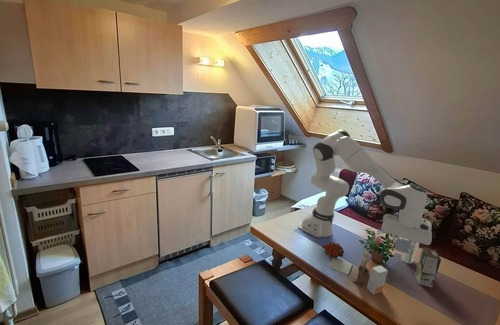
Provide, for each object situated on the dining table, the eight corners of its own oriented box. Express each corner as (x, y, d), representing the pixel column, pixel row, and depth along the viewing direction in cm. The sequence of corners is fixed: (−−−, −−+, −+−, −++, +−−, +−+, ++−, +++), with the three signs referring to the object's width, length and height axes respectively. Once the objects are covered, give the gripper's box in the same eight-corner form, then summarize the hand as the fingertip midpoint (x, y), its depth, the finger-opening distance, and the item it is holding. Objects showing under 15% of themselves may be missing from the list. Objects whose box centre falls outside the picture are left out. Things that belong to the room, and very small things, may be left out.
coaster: (328, 267, 140) (328, 266, 140) (333, 258, 148) (333, 257, 148) (347, 275, 135) (348, 274, 135) (352, 265, 143) (352, 264, 143)
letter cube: (395, 249, 125) (397, 240, 123) (395, 244, 129) (398, 235, 128) (407, 253, 122) (409, 243, 121) (407, 248, 127) (409, 239, 125)
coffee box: (432, 288, 131) (441, 260, 127) (418, 284, 133) (426, 256, 129) (428, 276, 139) (436, 249, 135) (414, 273, 141) (421, 246, 137)
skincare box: (373, 295, 123) (378, 273, 120) (366, 288, 127) (371, 267, 124) (382, 292, 126) (388, 270, 122) (375, 285, 129) (380, 264, 126)
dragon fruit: (344, 263, 144) (322, 259, 151) (347, 251, 150) (326, 248, 157) (340, 252, 140) (319, 249, 148) (344, 240, 146) (323, 238, 153)
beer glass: (415, 265, 148) (422, 241, 144) (402, 263, 149) (408, 239, 145) (411, 258, 154) (417, 235, 150) (398, 255, 156) (404, 233, 151)
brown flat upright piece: (362, 286, 128) (366, 267, 125) (353, 282, 130) (357, 263, 127) (367, 269, 141) (372, 251, 138) (359, 265, 143) (363, 248, 140)
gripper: (383, 215, 124) (377, 241, 128) (435, 229, 114) (427, 256, 118) (384, 210, 129) (379, 235, 133) (434, 223, 119) (426, 250, 123)
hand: (402, 245), depth 125 cm, fingers closed on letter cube, 5 cm apart
